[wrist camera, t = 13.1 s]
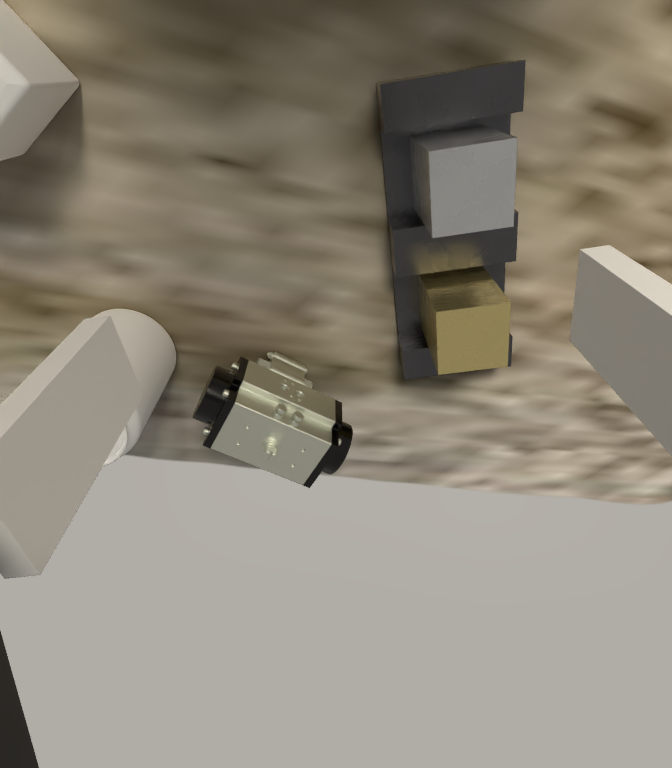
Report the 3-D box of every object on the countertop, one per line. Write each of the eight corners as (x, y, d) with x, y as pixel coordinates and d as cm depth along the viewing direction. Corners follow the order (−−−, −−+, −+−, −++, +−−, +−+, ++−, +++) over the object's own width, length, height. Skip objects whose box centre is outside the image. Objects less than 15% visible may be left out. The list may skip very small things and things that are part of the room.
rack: (376, 83, 34) (380, 84, 32) (510, 60, 34) (525, 60, 31) (400, 362, 46) (404, 379, 43) (500, 349, 45) (510, 366, 43)
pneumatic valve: (326, 414, 49) (325, 505, 39) (213, 363, 46) (179, 448, 35) (355, 371, 46) (362, 456, 36) (237, 314, 43) (208, 390, 33)
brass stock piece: (418, 271, 41) (436, 312, 34) (480, 263, 40) (510, 302, 34) (421, 327, 43) (438, 374, 37) (479, 319, 43) (507, 366, 36)
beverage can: (197, 358, 45) (159, 441, 35) (133, 400, 48) (79, 489, 38) (130, 287, 42) (66, 358, 32) (65, 336, 44) (-15, 417, 34)
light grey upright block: (409, 135, 36) (428, 151, 29) (481, 124, 35) (517, 137, 28) (414, 208, 38) (432, 238, 31) (480, 198, 38) (513, 226, 31)
